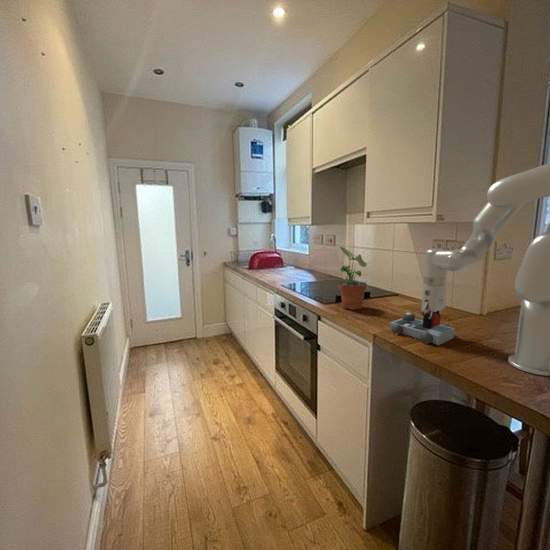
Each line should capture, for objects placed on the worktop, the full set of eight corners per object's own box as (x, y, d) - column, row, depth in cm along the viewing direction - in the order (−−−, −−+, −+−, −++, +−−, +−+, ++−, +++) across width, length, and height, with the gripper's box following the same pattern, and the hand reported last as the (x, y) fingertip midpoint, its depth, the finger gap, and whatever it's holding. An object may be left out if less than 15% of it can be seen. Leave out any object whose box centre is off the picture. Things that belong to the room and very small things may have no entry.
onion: (430, 331, 116) (432, 311, 115) (419, 326, 121) (420, 307, 120) (442, 329, 118) (444, 310, 116) (431, 325, 123) (432, 306, 122)
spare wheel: (417, 319, 126) (417, 313, 126) (411, 321, 123) (411, 316, 123) (406, 316, 130) (406, 311, 130) (400, 318, 127) (400, 313, 127)
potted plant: (337, 311, 156) (338, 243, 151) (338, 303, 171) (339, 241, 165) (368, 313, 153) (371, 243, 147) (367, 305, 167) (369, 241, 161)
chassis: (456, 336, 120) (457, 326, 120) (435, 347, 110) (436, 336, 110) (408, 323, 136) (409, 315, 135) (386, 332, 126) (387, 322, 126)
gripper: (433, 285, 108) (429, 333, 111) (455, 279, 118) (451, 323, 121) (413, 282, 114) (410, 328, 117) (435, 277, 124) (432, 319, 127)
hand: (431, 325), depth 119 cm, fingers closed on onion, 5 cm apart
